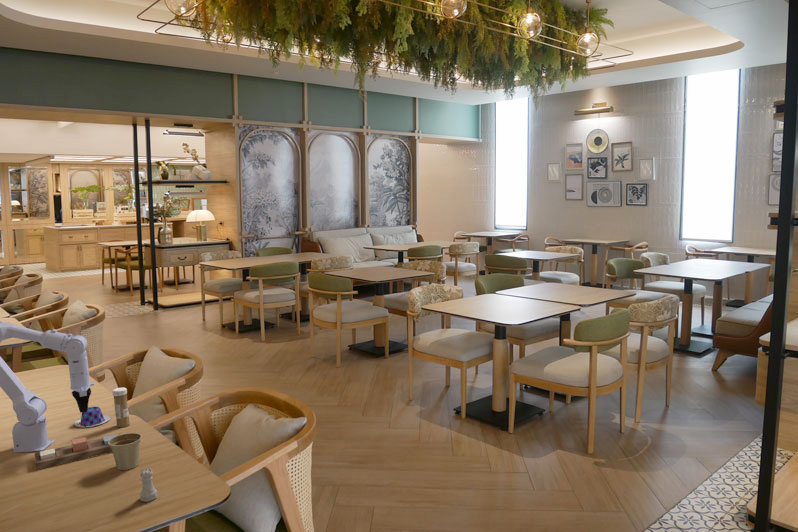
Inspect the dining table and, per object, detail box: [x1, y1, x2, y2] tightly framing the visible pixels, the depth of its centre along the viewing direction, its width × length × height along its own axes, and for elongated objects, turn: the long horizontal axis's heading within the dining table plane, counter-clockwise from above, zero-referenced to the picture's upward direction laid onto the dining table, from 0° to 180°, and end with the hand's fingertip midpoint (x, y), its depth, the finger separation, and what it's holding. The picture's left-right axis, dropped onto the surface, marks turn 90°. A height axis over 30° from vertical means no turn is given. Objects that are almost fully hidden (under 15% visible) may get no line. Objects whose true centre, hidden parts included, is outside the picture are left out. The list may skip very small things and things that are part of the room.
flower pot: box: [108, 432, 143, 471], centre depth 188 cm, size 9×9×9 cm
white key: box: [39, 448, 56, 460], centre depth 193 cm, size 4×4×3 cm
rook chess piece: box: [139, 467, 158, 503], centre depth 167 cm, size 4×4×8 cm
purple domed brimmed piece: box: [73, 406, 111, 428], centre depth 225 cm, size 12×12×5 cm
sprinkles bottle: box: [112, 387, 131, 428], centre depth 220 cm, size 5×5×13 cm
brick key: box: [71, 436, 88, 452], centre depth 198 cm, size 4×4×3 cm
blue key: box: [102, 434, 118, 445], centre depth 202 cm, size 4×4×3 cm
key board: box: [34, 434, 121, 471], centre depth 198 cm, size 25×9×2 cm, turn 122°
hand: (83, 411), depth 207 cm, fingers closed
